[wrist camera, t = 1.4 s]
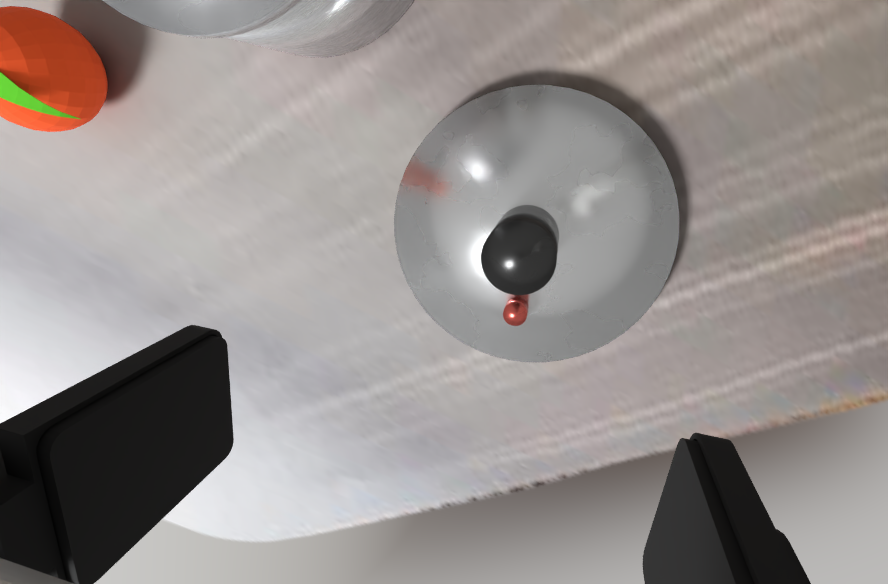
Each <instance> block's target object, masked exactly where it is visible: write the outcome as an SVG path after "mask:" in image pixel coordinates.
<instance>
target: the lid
mask: <svg viewBox="0 0 888 584" xmlns="http://www.w3.org/2000/svg"><path fill="white" fill-rule="evenodd" d="M679 220H680V217H679V208H678V198H677V194H676V191H675V187H674V183H673V179H672V177H671V174H670V172H669V170H668V167H667V165H666V163H665V160H664V159H663V157H662V155H661V154H660V152H659V150H658V149H657V147H656V146H655V144H654V143H653V141H652V140H651V139H650V138H649V137H648V135H647V134H646V133H645V132H644V131H643V130H642V128H641V127H640V126H639V125H637V124H636V123H635V122H634V121H633V120H632V119H631V118H630V117H628V116H627V115H626V114H625V113H623V112H622V111H620V110H619V109H617V108H616V107H614V106H613V105H611V104H609V103H608V102H606V101H604V100H602V99H599V98H597V97H595V96H593V95H591V94H588V93H585V92H581V91H578V90H574V89H571V88H566V87H559V86H552V85H523V86H516V87H509V88H505V89H501V90H498V91H494V92H491V93H488V94H485V95H483V96H481V97H478V98H476V99H474V100H472V101H470V102H468V103H466V104H465V105H463V106H461V107H460V108H458V109H456V110H455V111H453V112H452V113H451V114H450V115H448V116H447V117H446V118H445V119H443V120H442V121H441V122H440V123H438V125H437V126H436V127H435V128H434V129H433V130H432V131H431V132H430V133H429V134H428V135H427V136H426V137H425V139H424V140H423V142H422V143H421V144H420V146H419V147H418V148H417V150H416V151H415V153H414V155H413V157H412V158H411V160H410V162H409V164H408V166H407V168H406V170H405V173H404V176H403V178H402V181H401V184H400V187H399V191H398V195H397V200H396V206H395V216H394V234H395V242H396V249H397V254H398V258H399V262H400V265H401V269H402V271H403V273H404V276H405V278H406V281H407V283H408V285H409V287H410V289H411V290H412V292H413V294H414V296H415V297H416V299H417V300H418V302H419V303H420V304H421V306H422V307H423V309H424V310H425V311H426V312H427V313H428V314H429V316H430V317H431V318H432V319H433V320H434V321H435V322H436V323H437V324H438V325H439V326H441V327H442V328H443V329H444V330H445V331H446V332H448V333H449V334H450V335H452V336H453V337H455V338H456V339H458V340H459V341H461V342H462V343H464V344H466V345H468V346H470V347H472V348H474V349H476V350H478V351H481V352H484V353H486V354H489V355H492V356H495V357H499V358H503V359H507V360H513V361H521V362H550V361H559V360H564V359H568V358H573V357H577V356H580V355H583V354H585V353H588V352H591V351H594V350H596V349H598V348H600V347H602V346H604V345H606V344H608V343H610V342H611V341H613V340H614V339H616V338H617V337H619V336H620V335H622V334H623V333H625V332H626V331H627V330H628V329H629V328H630V327H631V326H633V325H634V324H635V323H636V322H637V321H638V320H639V319H640V318H641V317H642V316H643V315H644V314H645V312H646V311H647V310H648V309H649V308H650V307H651V305H652V304H653V302H654V301H655V299H656V298H657V296H658V295H659V294H660V292H661V290H662V288H663V286H664V284H665V282H666V280H667V278H668V276H669V274H670V271H671V268H672V265H673V262H674V259H675V256H676V250H677V245H678V239H679Z"/></svg>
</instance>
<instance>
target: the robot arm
mask: <svg viewBox="0 0 888 584" xmlns="http://www.w3.org/2000/svg"><path fill="white" fill-rule="evenodd" d="M232 446H233V425H232V410H231V395H230V381H229V366H228V351H227V343H226V341H225V339H223V338H222V335H221V334H220V332H219V331H217V330H214V329H210V328H205V327H200V326H196V325H190V326H187V327H185V328H183V329H181V330H179V331H177V332H175V333H174V334H172V335H170V336H168V337H166V338H164V339H162V340H160V341H158V342H156V343H154V344H152V345H151V346H149V347H147V348H145V349H143V350H141V351H139V352H137V353H135V354H133V355H131V356H129V357H127V358H126V359H124V360H122V361H120V362H118V363H116V364H114V365H112V366H110V367H108V368H106V369H104V370H102V371H101V372H99V373H97V374H95V375H93V376H91V377H89V378H87V379H85V380H83V381H81V382H79V383H77V384H76V385H74V386H72V387H70V388H68V389H66V390H64V391H62V392H60V393H58V394H56V395H54V396H52V397H51V398H49V399H47V400H45V401H43V402H41V403H39V404H37V405H35V406H33V407H31V408H29V409H27V410H26V411H24V412H22V413H20V414H18V415H16V416H14V417H12V418H10V419H8V420H6V421H4V422H2V423H1V424H0V584H94V583H95V582H96V581H97V580H99V579H100V578H101V577H102V576H103V575H104V574H105V573H106V572H107V571H108V570H109V569H110V568H111V567H112V566H113V565H114V564H115V563H116V562H117V561H118V560H120V559H121V558H122V557H123V556H124V555H125V554H126V553H127V552H128V551H129V550H130V549H131V548H132V547H133V546H134V545H135V544H136V543H137V542H138V541H139V540H140V539H142V537H144V536H145V535H146V534H147V533H148V532H149V531H150V530H151V529H152V528H153V527H154V526H155V525H156V524H157V523H158V522H159V521H160V520H161V519H162V518H163V517H165V516H166V515H167V514H168V513H169V512H170V511H171V510H172V509H173V508H174V507H175V506H176V505H177V504H178V503H179V502H180V501H181V500H182V499H183V498H184V497H185V496H186V495H188V494H189V493H190V492H191V491H192V490H193V489H194V488H195V487H196V486H197V485H198V484H199V483H200V482H201V481H202V480H203V479H204V478H205V477H206V476H207V475H208V474H210V473H211V472H212V471H213V470H214V469H215V468H216V467H217V466H218V465H219V464H220V463H221V462H222V461H223V460H224V459H225V458H226V457H227V456H228V455H229V453H230V451H231V449H232ZM643 574H644V580H645V584H811V583H810V581H809V579H808V577H807V575H806V573H805V571H804V569H803V567H802V566H801V564H800V562H799V560H798V558H797V556H796V554H795V552H794V550H793V548H792V546H791V544H790V542H789V541H788V539H787V538H786V536H785V535H784V534H783V533H782V532H780V531H779V530H777V529H775V527H774V525H773V523H772V521H771V519H770V517H769V515H768V513H767V511H766V509H765V507H764V505H763V503H762V501H761V499H760V497H759V495H758V493H757V491H756V489H755V487H754V485H753V483H752V481H751V479H750V477H749V475H748V473H747V471H746V469H745V467H744V465H743V463H742V461H741V459H740V457H739V455H738V453H737V451H736V449H735V447H734V445H733V443H732V442H731V441H730V440H727V439H723V438H718V437H713V436H709V435H704V434H699V433H694V434H693V435H692V436H691V437H690V440H689V439H684V438H682V439H680V441H679V442H678V445H677V448H676V451H675V454H674V457H673V460H672V464H671V467H670V470H669V473H668V476H667V479H666V483H665V486H664V489H663V492H662V495H661V498H660V502H659V505H658V508H657V511H656V514H655V518H654V521H653V524H652V527H651V530H650V533H649V536H648V540H647V543H646V547H645V550H644V555H643Z"/></svg>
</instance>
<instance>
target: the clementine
mask: <svg viewBox="0 0 888 584" xmlns="http://www.w3.org/2000/svg"><path fill="white" fill-rule="evenodd" d="M106 95H107V76H106V72H105V68H104V66H103V63H102V61H101V58H100V57H99V55H98V54H97V52H96V51H95V49H94V48H93V47H92V45H91V44H90V43H89V42H88V40H87V39H86V38H85V37H84V36H83V35H82V34H81V33H80V32H79V31H77V30H76V29H74V28H73V27H71V26H70V25H68V24H67V23H65V22H64V21H62V20H61V19H59V18H57V17H56V16H53V15H51V14H48V13H45V12H42V11H39V10H35V9H32V8H28V7H15V6H9V7H0V116H1V117H3V118H4V119H6V120H8V121H10V122H13V123H15V124H18V125H20V126H23V127H26V128H29V129H33V130H39V131H47V132H55V131H65V130H71V129H74V128H77V127H79V126H81V125H83V124H85V123H87V122H89V121H90V120H92V119H93V118H94V117H95V116H96V115H97V114H98V112H99V111H100V109H101V107H102V105H103V103H104V101H105V99H106Z"/></svg>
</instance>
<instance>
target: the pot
mask: <svg viewBox="0 0 888 584" xmlns="http://www.w3.org/2000/svg"><path fill="white" fill-rule="evenodd" d="M102 1H104V2H105V3H107V4H108V5H110V6H111V7H113V8H114V9H115V10H117V11H118V12H120V13H121V14H123V15H125V16H127V17H129V18H131V19H133V20H135V21H137V22H139V23H141V24H143V25H146V26H149V27H152V28H155V29H158V30H161V31H164V32H168V33H173V34H177V35H183V36H189V37H196V38H227V39H231V40H235V41H240V42H244V43H248V44H252V45H256V46H260V47H265V48H269V49H273V50H277V51H281V52H285V53H290V54H294V55H299V56H305V57H332V56H339V55H343V54H346V53H349V52H352V51H355V50H358V49H360V48H362V47H364V46H366V45H368V44H370V43H372V42H373V41H374V40H376V39H377V38H379V37H380V36H381V35H383V34H384V33H386V32H387V31H388V30H389V29H390V28H391V27H392V26H393V25H394V24H395V23H396V22H397V21H398V20H399V19H400V18H401V17H402V16H403V14H404V13H405V12H406V11H407V9H408V8H409V7H410V6H411V4H412V3H413V1H414V0H102Z"/></svg>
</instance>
